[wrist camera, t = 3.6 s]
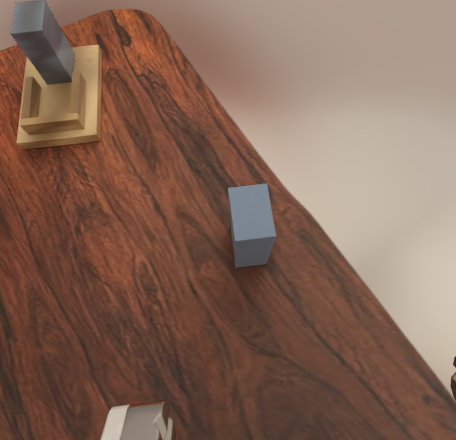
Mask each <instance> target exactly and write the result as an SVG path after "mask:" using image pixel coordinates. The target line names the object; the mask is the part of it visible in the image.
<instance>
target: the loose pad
mask: <svg viewBox="0 0 456 440" xmlns="http://www.w3.org/2000/svg"><path fill="white" fill-rule="evenodd" d="M228 197H229V213H230V228H231V236H232V244H233V252H234V260H235V267H236V268H238V267H247V266H255V265H263V264H267V262H268V259H269V256H270V253H271V250H272V247H273V244H274V241H275V238H276V233H275V227H274V221H273V216H272V210H271V204H270V199H269V193H268V187H267V184H259V185H251V186H242V187H234V188H228Z"/></svg>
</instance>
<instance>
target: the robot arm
mask: <svg viewBox="0 0 456 440" xmlns="http://www.w3.org/2000/svg"><path fill="white" fill-rule="evenodd" d="M453 365H454V366H455V367H456V357H455V358H454V363H453ZM451 389H452V392H453V396H454V398H455V400H456V372H455V373H454V375H453V376H452V377H451ZM101 440H176V432H175V426H174V422H173V420H172V419H171V418H169V406H168V403H167V400H161V401H154V402H146V403H138V404H130V405H124V406H116V407H112V408H111V410H110V411H109V413H108V416H107V419H106V423H105V426H104V430H103V433H102V436H101Z"/></svg>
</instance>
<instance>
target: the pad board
mask: <svg viewBox="0 0 456 440" xmlns="http://www.w3.org/2000/svg"><path fill="white" fill-rule="evenodd" d="M11 35H12V36H13V38H14V39H15V41H16V42H17V43H18V45H19V46H20V48H21V49H22V50H23V52H24V53H25V54H26V56H27V58H26V67H25V75H24V84H23V92H22V101H21V109H20V118H19V126H18V135H17V144H18V145H19V146H20V147H21V148H22V149H23V150H25V149H34V148H43V147H52V146H60V145H69V144H78V143H87V142H96V141H101V89H102V52H101V49H100V47H99V45H91V46H82V47H73V48H71V46H70V44H69V43H68V41H67V39H66V37H65V35H64V33H63V32H62V30H61V28H60V26H59V25H58V23H57V21H56V19H55V17H54V15H53V14H52V12H51V10H50V8H49V6H48V4H47V3H46V1H45V0H34V1H25V2H15V7H14V14H13V21H12V28H11Z"/></svg>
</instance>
